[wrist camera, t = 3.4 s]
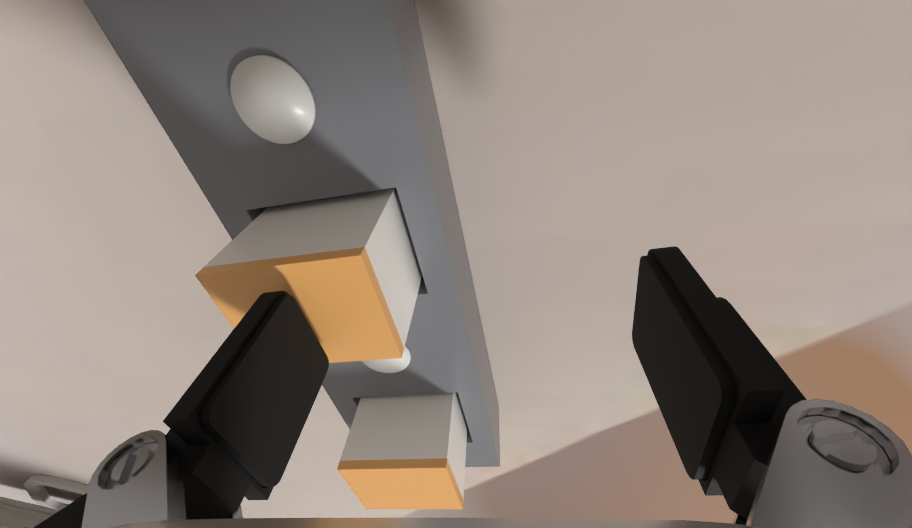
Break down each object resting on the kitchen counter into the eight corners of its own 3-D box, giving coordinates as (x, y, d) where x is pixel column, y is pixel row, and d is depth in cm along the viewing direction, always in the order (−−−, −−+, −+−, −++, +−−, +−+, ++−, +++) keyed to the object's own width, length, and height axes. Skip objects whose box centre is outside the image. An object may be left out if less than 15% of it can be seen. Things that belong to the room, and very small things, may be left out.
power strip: (307, -514, 8) (161, -919, 4) (498, 406, 26) (500, 469, 22) (6, -361, 9) (-285, -576, 6) (388, 411, 27) (373, 471, 24)
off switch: (454, 379, 20) (446, 467, 16) (467, 423, 22) (462, 509, 18) (364, 384, 20) (337, 469, 17) (386, 426, 23) (366, 508, 19)
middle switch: (396, 184, 13) (360, 255, 10) (422, 273, 16) (401, 358, 12) (270, 203, 14) (194, 275, 11) (313, 285, 16) (262, 367, 13)
